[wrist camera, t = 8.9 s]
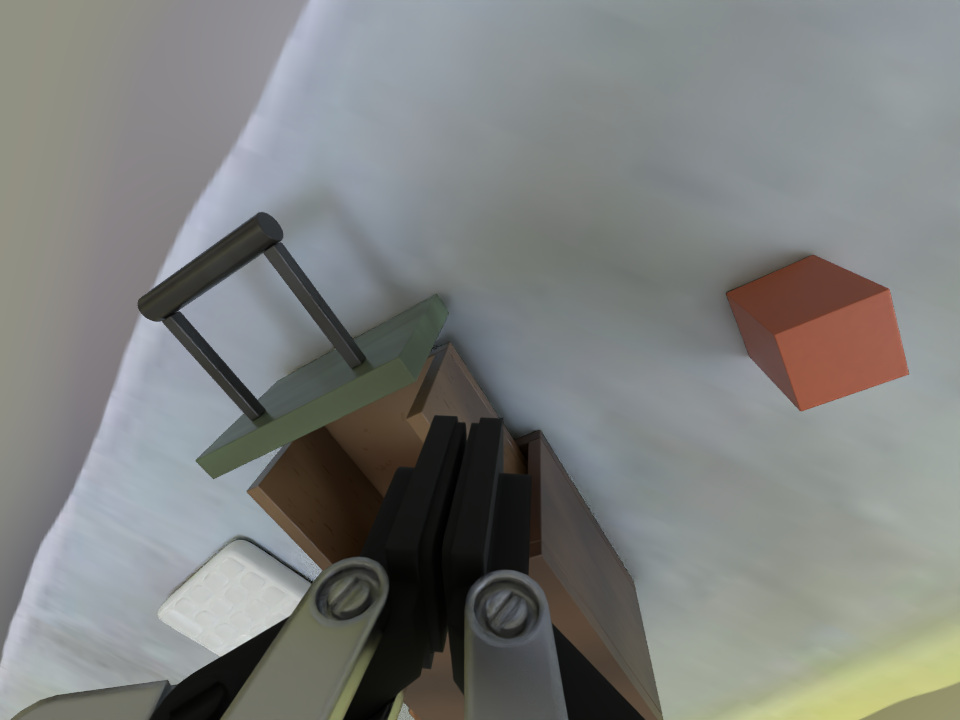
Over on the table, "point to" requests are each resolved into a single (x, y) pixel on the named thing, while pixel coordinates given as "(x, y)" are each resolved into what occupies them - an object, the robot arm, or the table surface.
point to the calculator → (234, 598)
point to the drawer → (327, 401)
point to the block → (819, 331)
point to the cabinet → (565, 596)
